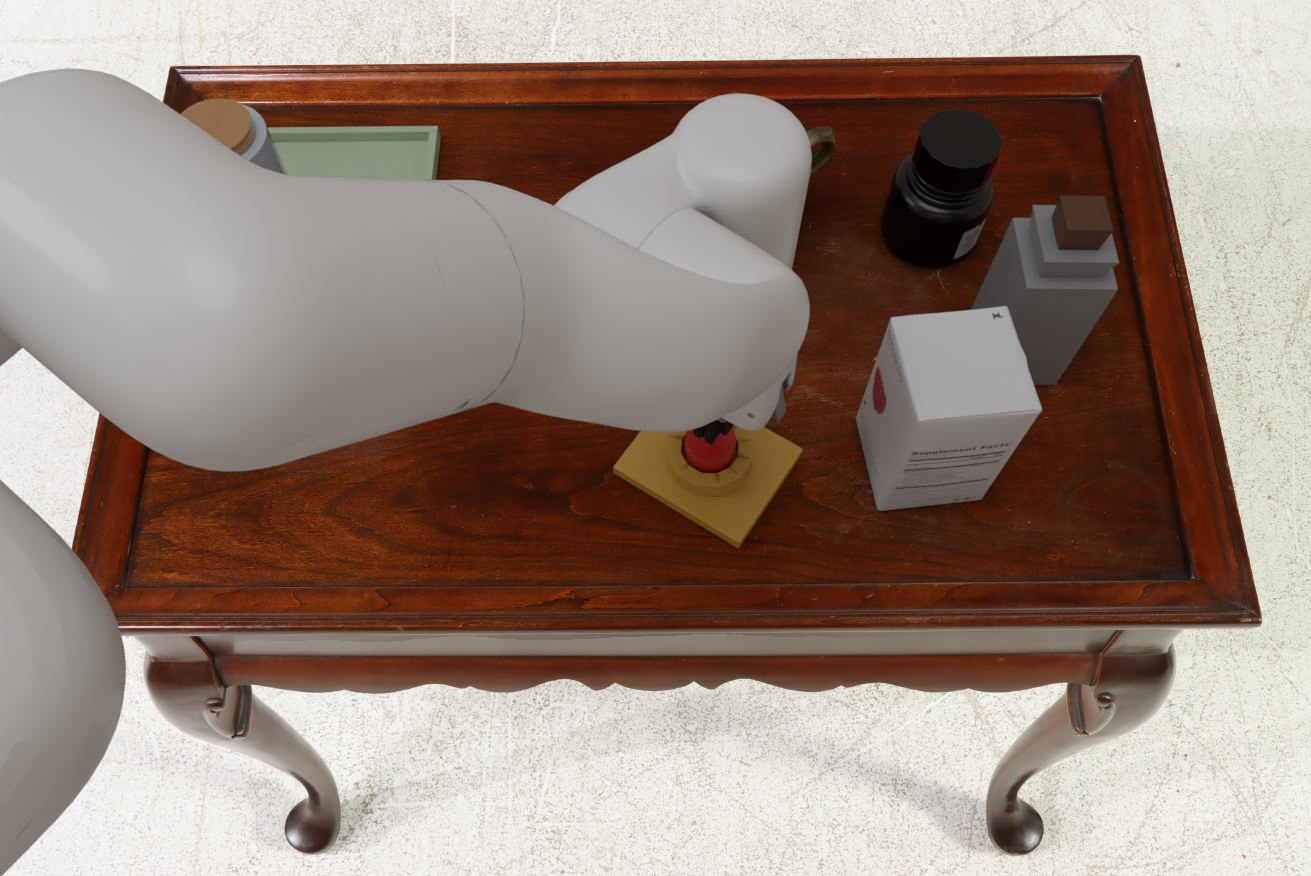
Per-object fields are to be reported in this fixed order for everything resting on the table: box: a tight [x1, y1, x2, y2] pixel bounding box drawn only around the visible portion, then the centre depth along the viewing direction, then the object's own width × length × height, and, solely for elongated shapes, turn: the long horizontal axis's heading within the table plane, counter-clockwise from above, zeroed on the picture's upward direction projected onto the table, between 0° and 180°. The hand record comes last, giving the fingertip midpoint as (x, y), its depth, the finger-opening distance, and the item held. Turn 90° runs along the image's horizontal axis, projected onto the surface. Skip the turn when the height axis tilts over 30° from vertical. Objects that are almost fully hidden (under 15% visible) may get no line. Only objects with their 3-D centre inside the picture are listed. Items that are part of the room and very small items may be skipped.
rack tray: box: [267, 125, 442, 180], centre depth 94 cm, size 28×18×2 cm, turn 1°
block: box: [612, 425, 804, 549], centre depth 83 cm, size 10×12×3 cm
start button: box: [685, 429, 736, 472], centre depth 81 cm, size 4×4×2 cm
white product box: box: [855, 306, 1043, 512], centre depth 78 cm, size 9×9×15 cm
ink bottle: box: [880, 108, 1003, 267], centre depth 91 cm, size 10×9×12 cm
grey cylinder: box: [179, 97, 288, 175], centre depth 80 cm, size 7×7×24 cm
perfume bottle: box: [970, 195, 1120, 386], centre depth 82 cm, size 7×7×18 cm
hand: (712, 426), depth 79 cm, fingers closed
